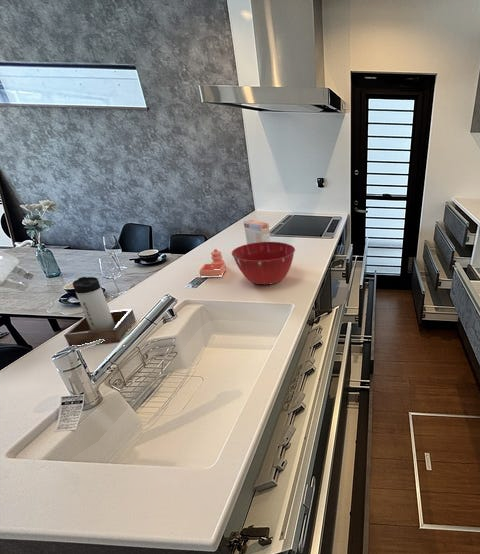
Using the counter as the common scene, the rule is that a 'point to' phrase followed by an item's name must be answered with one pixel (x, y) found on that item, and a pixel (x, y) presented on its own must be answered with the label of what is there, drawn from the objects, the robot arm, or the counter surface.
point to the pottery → (213, 265)
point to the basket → (84, 334)
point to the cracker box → (256, 231)
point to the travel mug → (93, 303)
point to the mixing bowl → (264, 261)
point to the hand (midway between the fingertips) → (29, 282)
